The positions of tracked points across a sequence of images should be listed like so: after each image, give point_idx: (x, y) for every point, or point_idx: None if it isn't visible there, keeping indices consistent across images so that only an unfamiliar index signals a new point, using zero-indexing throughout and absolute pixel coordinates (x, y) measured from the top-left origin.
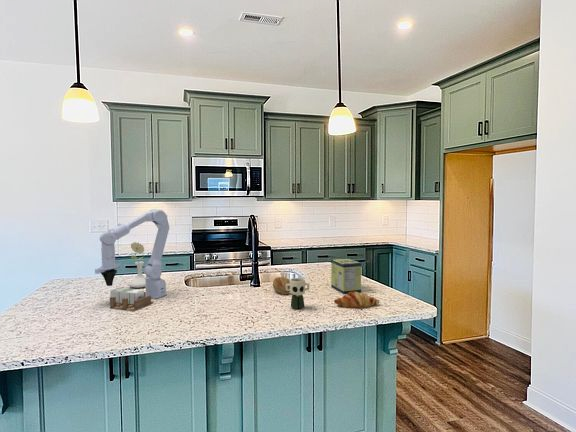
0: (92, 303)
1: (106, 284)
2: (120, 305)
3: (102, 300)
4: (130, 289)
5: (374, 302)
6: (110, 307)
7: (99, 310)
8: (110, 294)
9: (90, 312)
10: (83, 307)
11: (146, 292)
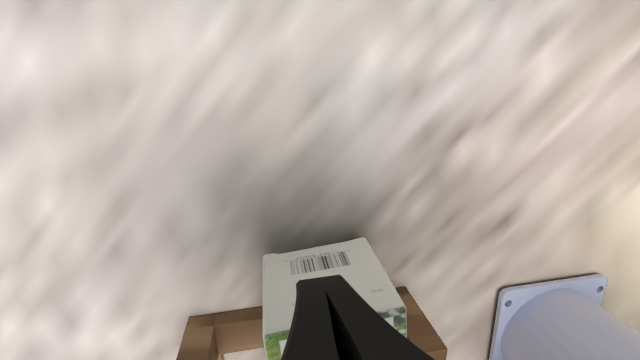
0: (215, 54)
1: (297, 292)
2: None
3: (331, 65)
4: None
5: None
6: (188, 325)
7: (106, 293)
8: (264, 301)
9: (25, 276)
10: (75, 86)
11: (529, 338)
